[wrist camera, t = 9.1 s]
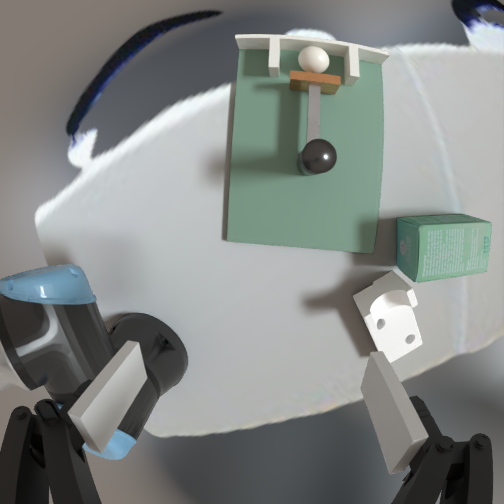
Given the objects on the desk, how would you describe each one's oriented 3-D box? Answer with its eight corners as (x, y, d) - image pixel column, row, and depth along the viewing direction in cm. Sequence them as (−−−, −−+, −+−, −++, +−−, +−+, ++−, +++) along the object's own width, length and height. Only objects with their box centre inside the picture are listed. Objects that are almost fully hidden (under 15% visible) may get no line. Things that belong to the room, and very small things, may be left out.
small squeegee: (284, 173, 33) (285, 169, 24) (289, 81, 30) (291, 48, 20) (331, 178, 33) (350, 176, 23) (334, 86, 30) (351, 55, 20)
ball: (299, 45, 25) (298, 44, 28) (298, 74, 28) (297, 70, 30) (332, 49, 24) (328, 47, 27) (330, 77, 27) (326, 73, 30)
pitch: (228, 240, 37) (221, 247, 33) (240, 48, 30) (235, 34, 26) (371, 252, 36) (381, 260, 31) (379, 63, 28) (389, 51, 24)
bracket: (350, 293, 38) (364, 317, 30) (391, 269, 36) (412, 288, 29) (378, 353, 40) (392, 381, 32) (414, 332, 38) (432, 357, 31)
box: (393, 216, 34) (417, 225, 27) (464, 213, 32) (492, 220, 25) (393, 267, 36) (415, 285, 29) (462, 258, 34) (488, 272, 27)
